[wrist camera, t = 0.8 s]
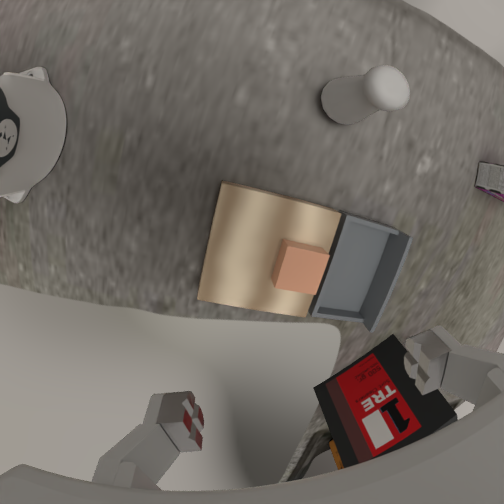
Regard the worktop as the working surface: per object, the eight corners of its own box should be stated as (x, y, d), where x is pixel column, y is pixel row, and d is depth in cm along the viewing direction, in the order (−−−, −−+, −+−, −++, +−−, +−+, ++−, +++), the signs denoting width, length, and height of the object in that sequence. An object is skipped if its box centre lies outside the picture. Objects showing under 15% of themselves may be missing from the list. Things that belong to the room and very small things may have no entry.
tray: (306, 306, 40) (316, 326, 35) (339, 210, 36) (356, 219, 31) (359, 314, 42) (373, 332, 37) (393, 227, 37) (413, 237, 33)
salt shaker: (365, 98, 31) (428, 83, 19) (347, 134, 33) (408, 132, 20) (327, 73, 30) (379, 42, 17) (307, 109, 31) (354, 91, 19)
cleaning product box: (392, 333, 44) (456, 414, 26) (405, 359, 47) (459, 432, 29) (313, 387, 46) (349, 482, 27) (333, 407, 49) (368, 490, 30)
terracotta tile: (271, 278, 35) (274, 288, 32) (282, 238, 33) (287, 245, 31) (309, 285, 35) (315, 294, 33) (322, 247, 34) (329, 255, 32)
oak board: (198, 288, 37) (197, 299, 34) (222, 180, 33) (222, 183, 30) (299, 305, 40) (305, 317, 37) (332, 208, 36) (341, 213, 33)
